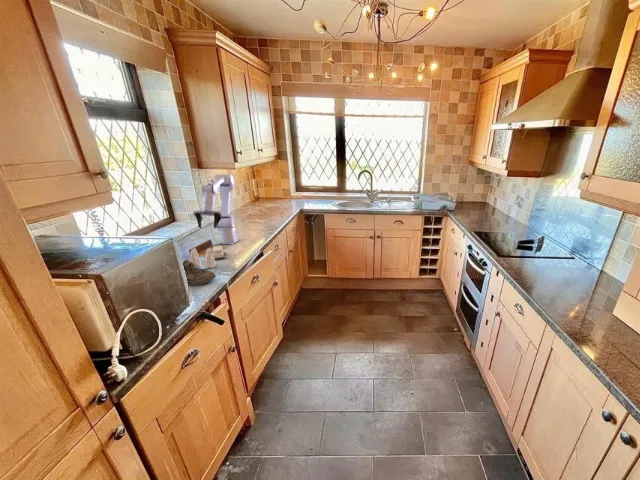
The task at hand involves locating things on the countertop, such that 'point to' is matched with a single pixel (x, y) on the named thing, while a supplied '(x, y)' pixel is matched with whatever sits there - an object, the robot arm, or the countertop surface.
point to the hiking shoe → (197, 274)
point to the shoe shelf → (204, 246)
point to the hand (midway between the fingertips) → (207, 227)
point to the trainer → (218, 252)
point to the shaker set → (209, 258)
